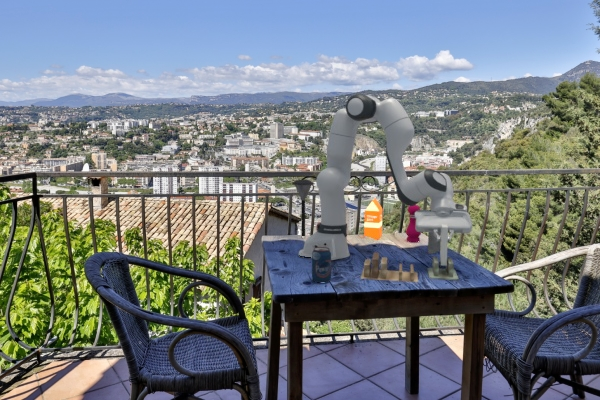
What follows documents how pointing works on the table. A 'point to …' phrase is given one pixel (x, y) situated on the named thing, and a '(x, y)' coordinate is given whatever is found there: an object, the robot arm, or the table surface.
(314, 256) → the soda can
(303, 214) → the solar garden light
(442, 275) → the stand
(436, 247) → the hip flask
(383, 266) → the rack
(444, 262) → the light grey flat bar
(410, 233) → the pepper mill
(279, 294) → the table surface
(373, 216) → the orange juice
